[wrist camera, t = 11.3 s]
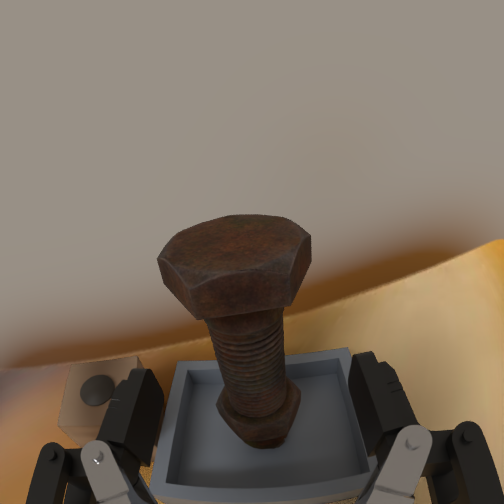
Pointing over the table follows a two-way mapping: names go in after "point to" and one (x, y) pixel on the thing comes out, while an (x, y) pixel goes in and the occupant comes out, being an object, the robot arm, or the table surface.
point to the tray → (262, 460)
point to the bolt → (244, 312)
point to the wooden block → (94, 397)
